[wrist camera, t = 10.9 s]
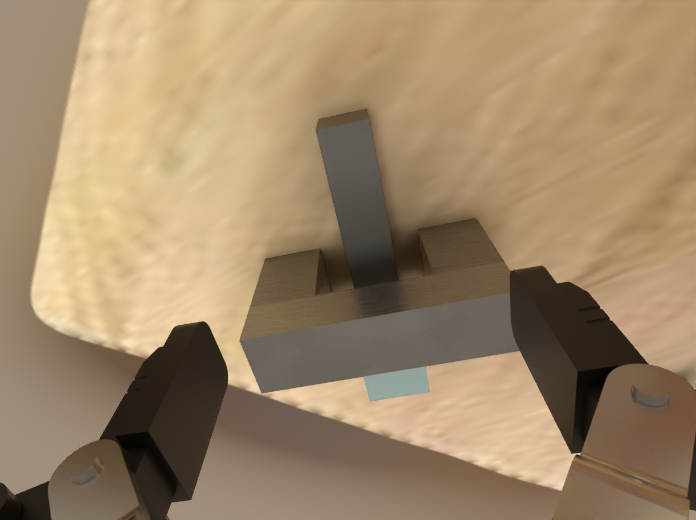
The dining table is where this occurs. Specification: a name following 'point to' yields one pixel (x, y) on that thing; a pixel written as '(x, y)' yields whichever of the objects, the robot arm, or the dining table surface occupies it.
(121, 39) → the dining table surface
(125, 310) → the dining table surface
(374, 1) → the dining table surface
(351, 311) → the bridge block
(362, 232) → the plug
